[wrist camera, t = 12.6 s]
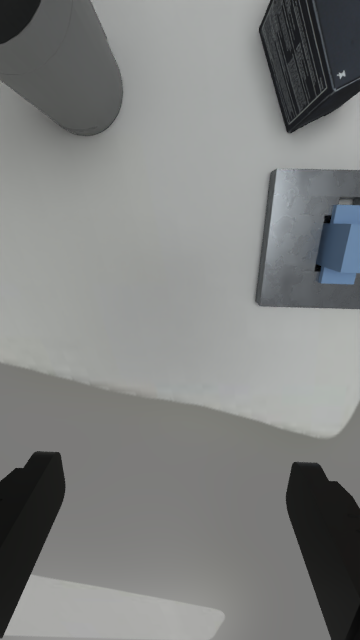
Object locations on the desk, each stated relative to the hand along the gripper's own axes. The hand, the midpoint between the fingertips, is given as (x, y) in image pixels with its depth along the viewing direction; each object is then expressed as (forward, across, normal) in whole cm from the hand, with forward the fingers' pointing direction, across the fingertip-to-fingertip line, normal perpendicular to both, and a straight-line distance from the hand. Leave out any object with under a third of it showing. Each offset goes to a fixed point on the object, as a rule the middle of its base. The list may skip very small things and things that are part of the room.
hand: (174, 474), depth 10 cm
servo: (+30, -19, -6) cm, 36 cm away
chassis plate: (+30, -19, -6) cm, 36 cm away
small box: (+30, -12, -24) cm, 41 cm away
